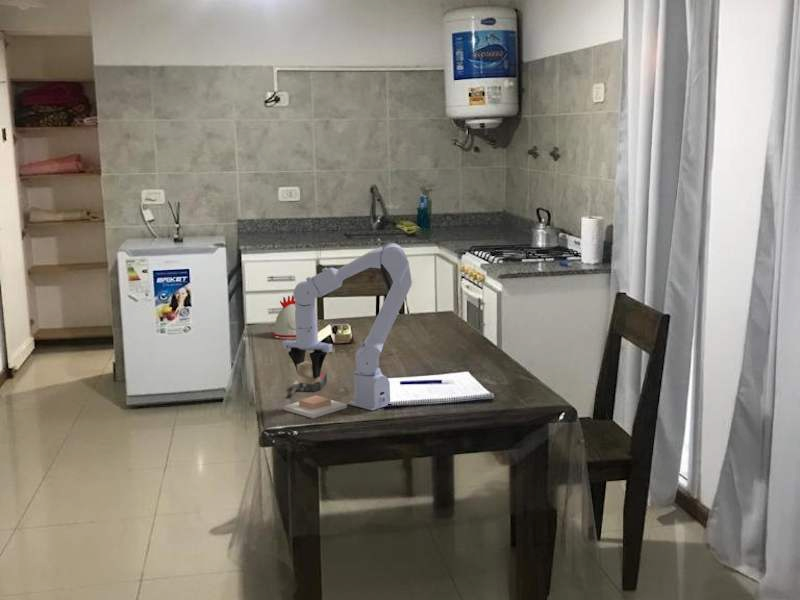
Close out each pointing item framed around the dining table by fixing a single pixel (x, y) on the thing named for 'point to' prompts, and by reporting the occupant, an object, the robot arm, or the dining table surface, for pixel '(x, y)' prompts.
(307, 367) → the birch block
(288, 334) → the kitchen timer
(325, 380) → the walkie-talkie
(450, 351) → the dining table surface
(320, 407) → the base plate
